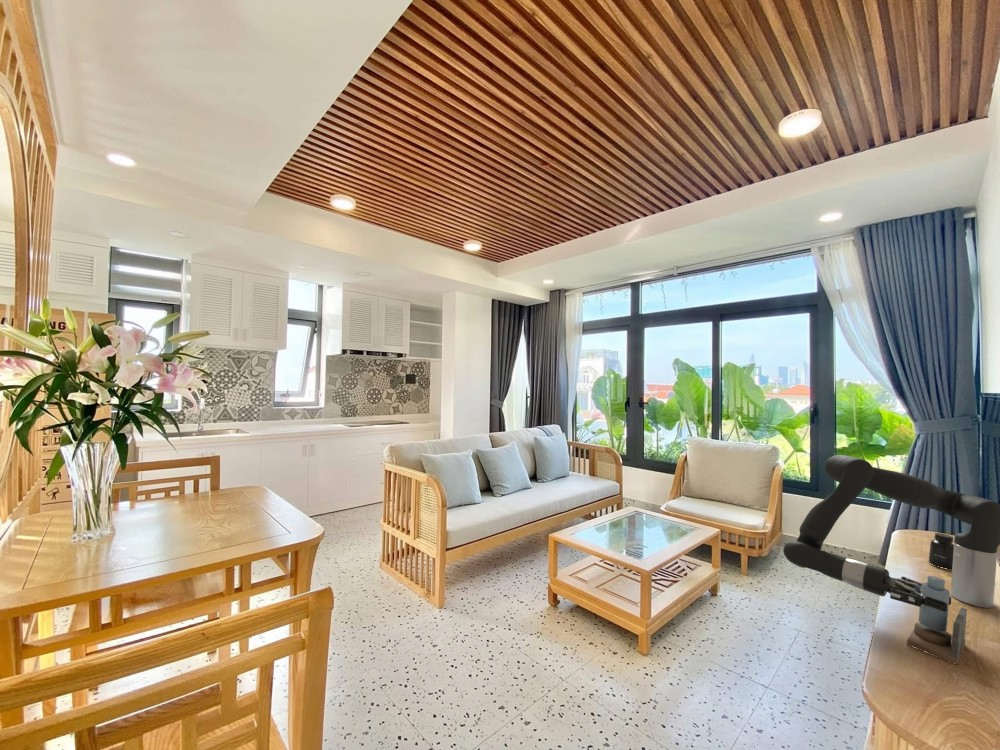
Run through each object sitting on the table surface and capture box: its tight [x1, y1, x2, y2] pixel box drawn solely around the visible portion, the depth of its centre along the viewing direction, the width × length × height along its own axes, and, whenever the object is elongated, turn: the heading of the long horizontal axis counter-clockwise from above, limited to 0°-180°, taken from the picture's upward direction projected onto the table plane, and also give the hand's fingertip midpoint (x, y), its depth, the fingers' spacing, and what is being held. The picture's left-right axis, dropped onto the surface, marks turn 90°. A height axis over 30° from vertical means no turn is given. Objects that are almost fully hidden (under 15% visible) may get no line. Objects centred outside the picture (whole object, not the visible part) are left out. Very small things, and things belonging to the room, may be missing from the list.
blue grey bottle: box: [918, 575, 951, 632], centre depth 113 cm, size 5×5×12 cm
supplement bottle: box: [928, 532, 954, 569], centre depth 162 cm, size 7×7×12 cm
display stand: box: [906, 607, 968, 665], centre depth 112 cm, size 14×9×10 cm, turn 127°
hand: (948, 604), depth 111 cm, fingers closed on blue grey bottle, 5 cm apart
